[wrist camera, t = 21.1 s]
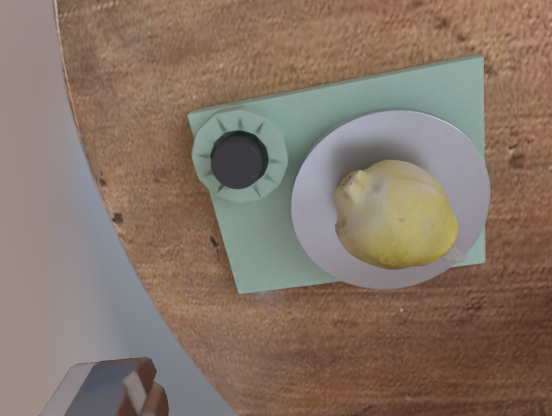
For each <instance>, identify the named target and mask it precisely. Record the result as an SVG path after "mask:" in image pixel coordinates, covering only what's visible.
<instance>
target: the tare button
mask: <svg viewBox="0 0 552 416" xmlns="http://www.w3.org/2000/svg"><path fill="white" fill-rule="evenodd" d="M263 163H264V154H263V150H262V148H261V146H260V145H259V143H258V142H257V141H256V140H255V139H253V138H252V137H250V136H248V135H244V134H233V135H230V136H228V137H226V138H225V139H224V140H223V141H222V142H221V143H220V144H219V146H218V147H217V149H216V150H215V151H214V153H213V155H212V159H211V168H212V172H213V174H214V176H215V178H216V179H217V180H218V181H219V182H220V183H221V184H223V185H224V186H226V187H228V188H232V189H244V188H247V187H249V186H251V185H252V184H254V183H255V182H256V180H257V179H258V177H259V175H260V173H261V170H262V166H263Z"/></svg>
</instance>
